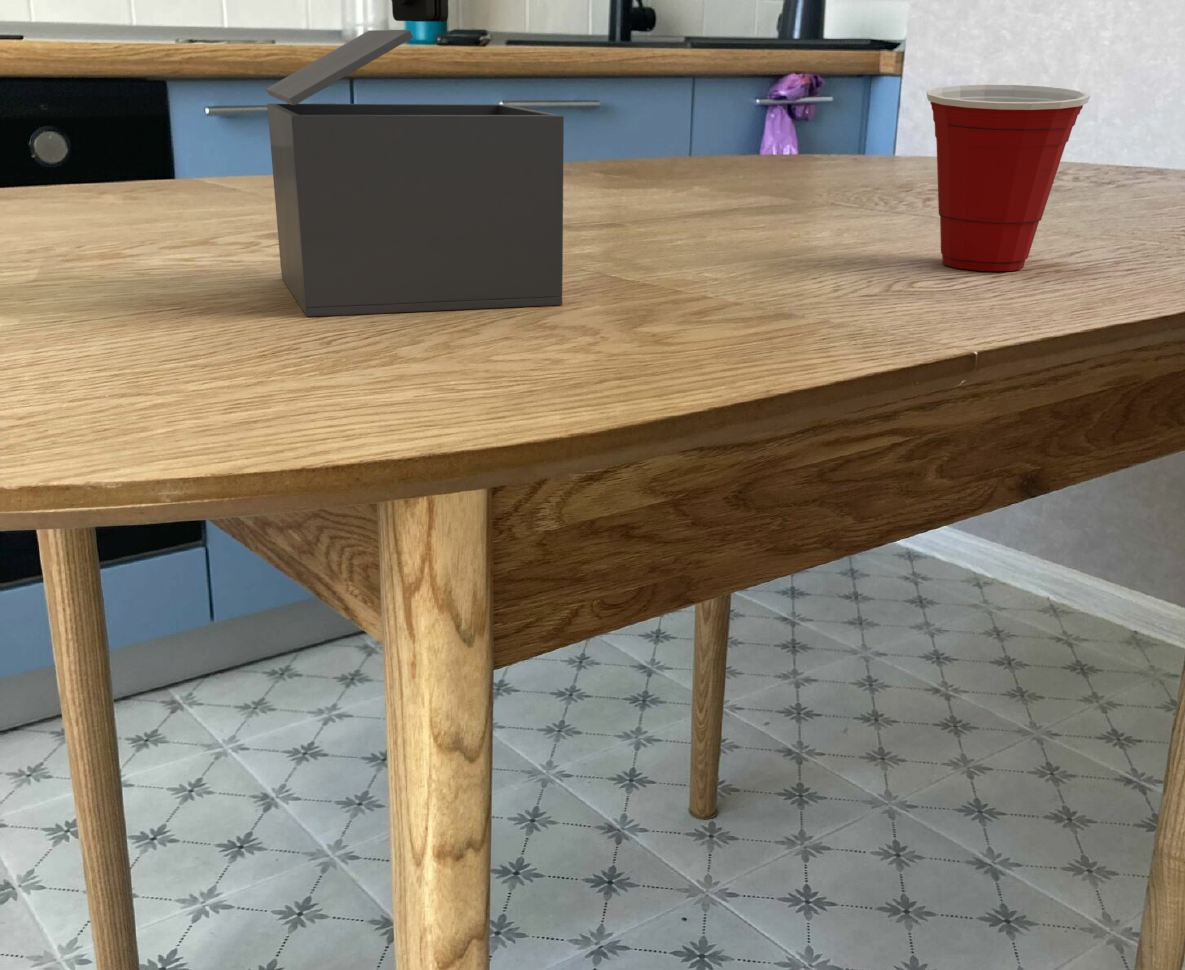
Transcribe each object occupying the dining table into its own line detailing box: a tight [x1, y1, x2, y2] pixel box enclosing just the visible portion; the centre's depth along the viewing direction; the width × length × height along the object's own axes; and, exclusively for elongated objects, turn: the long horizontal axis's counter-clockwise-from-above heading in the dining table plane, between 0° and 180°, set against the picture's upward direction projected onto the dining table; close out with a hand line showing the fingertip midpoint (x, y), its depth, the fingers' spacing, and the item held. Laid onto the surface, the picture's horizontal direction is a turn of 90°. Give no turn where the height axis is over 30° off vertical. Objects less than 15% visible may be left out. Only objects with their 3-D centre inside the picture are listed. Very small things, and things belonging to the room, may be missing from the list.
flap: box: [265, 29, 415, 105], centre depth 71 cm, size 7×13×1 cm, turn 19°
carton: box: [266, 102, 565, 318], centre depth 76 cm, size 15×13×10 cm
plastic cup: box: [925, 84, 1091, 272], centre depth 88 cm, size 11×11×12 cm
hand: (420, 20), depth 72 cm, fingers closed
